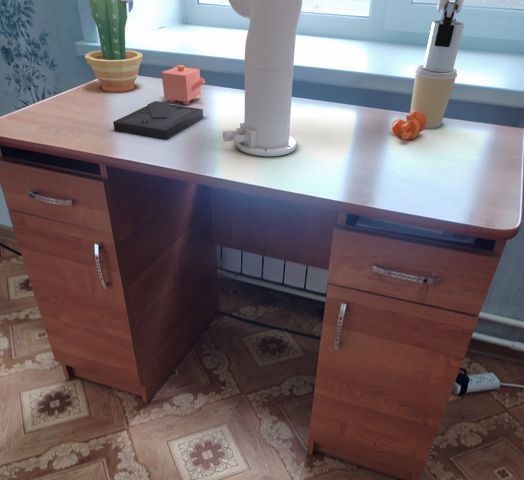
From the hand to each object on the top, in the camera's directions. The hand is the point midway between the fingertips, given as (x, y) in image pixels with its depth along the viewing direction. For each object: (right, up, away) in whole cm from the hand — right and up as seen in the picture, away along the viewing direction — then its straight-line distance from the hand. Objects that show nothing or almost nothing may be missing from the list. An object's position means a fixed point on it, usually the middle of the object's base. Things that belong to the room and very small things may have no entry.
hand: (442, 42), depth 113 cm
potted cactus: (-81, +4, +28) cm, 86 cm away
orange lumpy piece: (-8, -20, +3) cm, 21 cm away
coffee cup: (0, -13, +11) cm, 17 cm away
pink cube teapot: (-61, -3, +20) cm, 64 cm away
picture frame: (-64, -16, +5) cm, 67 cm away
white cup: (0, -4, +3) cm, 5 cm away
